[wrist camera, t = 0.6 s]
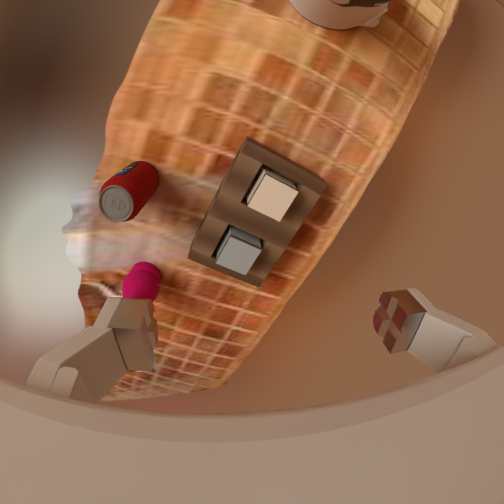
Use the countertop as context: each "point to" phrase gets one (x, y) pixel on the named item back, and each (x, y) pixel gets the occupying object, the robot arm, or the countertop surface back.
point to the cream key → (271, 194)
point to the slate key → (238, 250)
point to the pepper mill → (141, 282)
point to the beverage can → (128, 191)
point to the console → (247, 219)
